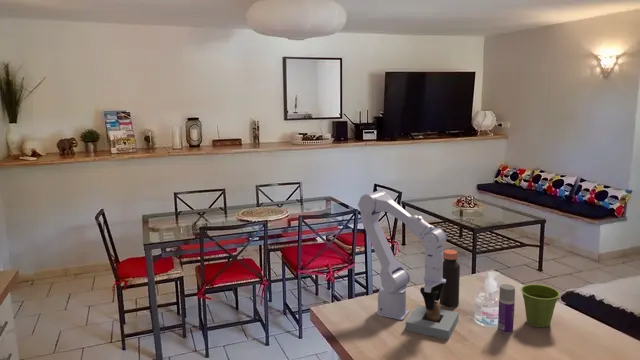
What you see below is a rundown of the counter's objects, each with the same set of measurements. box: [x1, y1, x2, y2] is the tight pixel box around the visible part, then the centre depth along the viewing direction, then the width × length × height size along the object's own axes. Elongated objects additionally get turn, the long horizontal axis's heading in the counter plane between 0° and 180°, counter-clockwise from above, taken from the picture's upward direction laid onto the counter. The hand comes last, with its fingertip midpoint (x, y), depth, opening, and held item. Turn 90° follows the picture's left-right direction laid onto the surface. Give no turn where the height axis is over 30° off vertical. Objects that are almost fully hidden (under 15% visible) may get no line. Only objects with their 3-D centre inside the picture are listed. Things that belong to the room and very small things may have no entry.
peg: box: [426, 301, 441, 323], centre depth 159 cm, size 4×4×7 cm
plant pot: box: [520, 283, 561, 328], centre depth 159 cm, size 12×12×11 cm
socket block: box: [405, 304, 460, 341], centre depth 160 cm, size 14×14×3 cm
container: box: [497, 283, 516, 335], centre depth 155 cm, size 5×5×15 cm
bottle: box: [439, 249, 461, 308], centre depth 174 cm, size 7×7×20 cm
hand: (432, 304), depth 159 cm, fingers open, 7 cm apart
